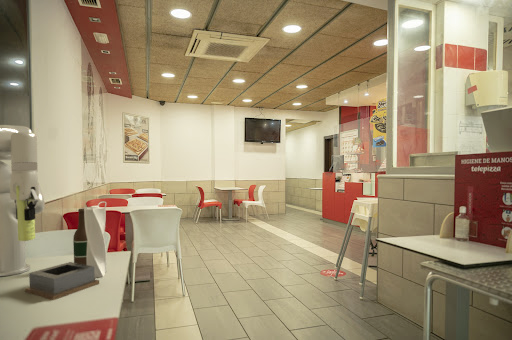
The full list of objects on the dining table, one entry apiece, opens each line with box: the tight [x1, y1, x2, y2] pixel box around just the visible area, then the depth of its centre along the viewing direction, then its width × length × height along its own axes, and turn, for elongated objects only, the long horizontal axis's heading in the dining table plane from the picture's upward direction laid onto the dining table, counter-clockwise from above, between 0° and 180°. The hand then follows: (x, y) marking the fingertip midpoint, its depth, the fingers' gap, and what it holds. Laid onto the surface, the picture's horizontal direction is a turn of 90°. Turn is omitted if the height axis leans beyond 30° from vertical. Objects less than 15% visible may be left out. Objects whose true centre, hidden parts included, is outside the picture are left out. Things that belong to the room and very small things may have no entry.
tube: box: [16, 186, 36, 242], centre depth 117 cm, size 6×5×20 cm
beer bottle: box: [72, 207, 88, 265], centre depth 139 cm, size 8×8×24 cm
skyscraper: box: [84, 200, 107, 278], centre depth 126 cm, size 8×8×28 cm
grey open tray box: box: [24, 261, 100, 301], centre depth 113 cm, size 16×16×6 cm
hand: (25, 218), depth 117 cm, fingers closed on tube, 4 cm apart
